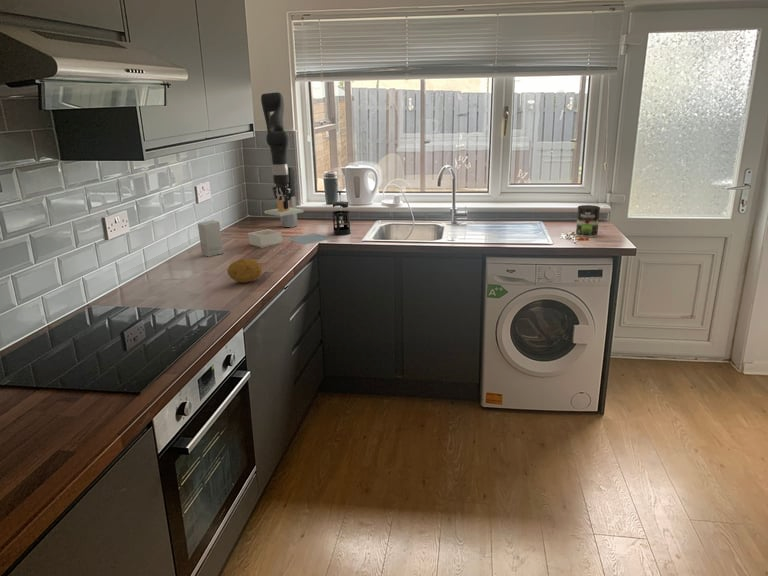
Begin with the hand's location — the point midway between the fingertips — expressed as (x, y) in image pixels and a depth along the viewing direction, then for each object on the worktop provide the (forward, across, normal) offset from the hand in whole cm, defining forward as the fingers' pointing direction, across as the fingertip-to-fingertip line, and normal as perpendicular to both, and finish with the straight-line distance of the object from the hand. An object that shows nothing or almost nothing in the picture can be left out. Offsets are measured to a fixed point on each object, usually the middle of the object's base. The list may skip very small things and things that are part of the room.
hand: (283, 208), depth 286 cm
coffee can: (+18, +106, +107) cm, 151 cm away
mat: (+17, +4, +11) cm, 21 cm away
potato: (+18, +47, -50) cm, 71 cm away
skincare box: (+18, -6, -37) cm, 42 cm away
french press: (+18, +8, +30) cm, 36 cm away
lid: (+2, 0, 0) cm, 2 cm away
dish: (+17, -4, -10) cm, 20 cm away
